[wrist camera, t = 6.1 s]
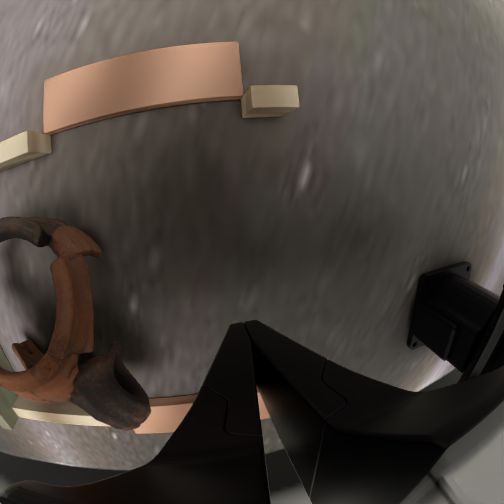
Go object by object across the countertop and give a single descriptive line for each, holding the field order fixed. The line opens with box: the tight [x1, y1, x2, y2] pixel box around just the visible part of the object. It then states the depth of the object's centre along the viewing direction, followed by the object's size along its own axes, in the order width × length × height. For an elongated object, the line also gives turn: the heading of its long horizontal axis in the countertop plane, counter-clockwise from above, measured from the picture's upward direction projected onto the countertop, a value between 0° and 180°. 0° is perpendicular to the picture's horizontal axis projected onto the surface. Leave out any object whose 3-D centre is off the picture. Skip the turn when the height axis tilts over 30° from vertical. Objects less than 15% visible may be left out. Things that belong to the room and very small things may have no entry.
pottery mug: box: [0, 217, 151, 431], centre depth 11 cm, size 12×10×8 cm
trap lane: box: [0, 42, 299, 434], centre depth 12 cm, size 22×23×4 cm
